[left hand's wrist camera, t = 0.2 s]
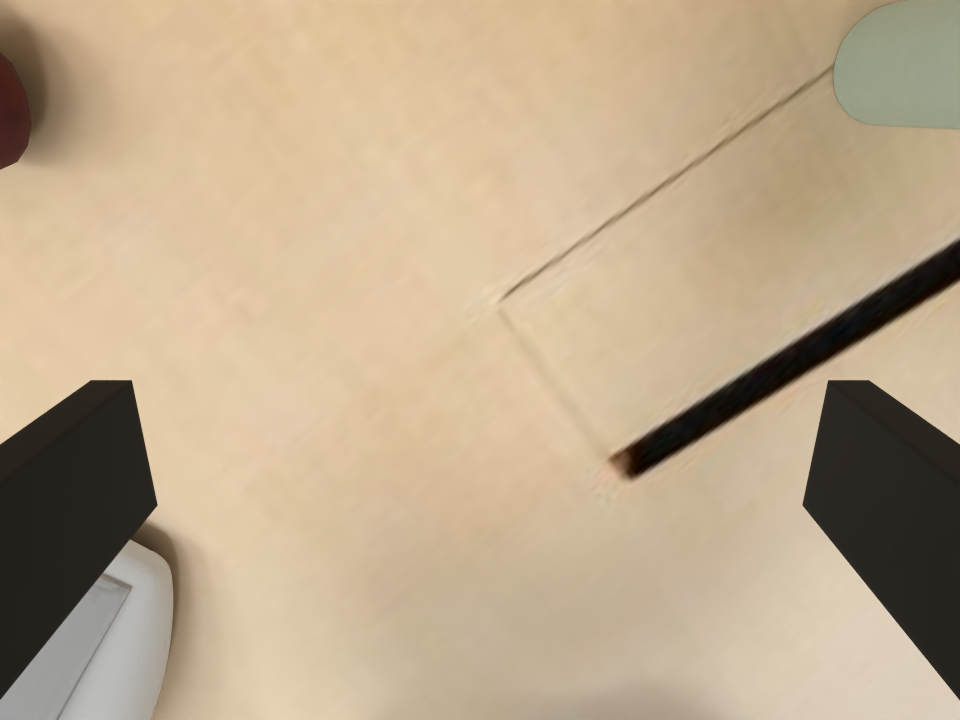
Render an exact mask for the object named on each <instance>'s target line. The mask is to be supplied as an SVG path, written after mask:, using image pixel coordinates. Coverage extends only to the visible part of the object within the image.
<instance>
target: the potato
mask: <svg viewBox="0 0 960 720" xmlns="http://www.w3.org/2000/svg"><path fill="white" fill-rule="evenodd" d="M30 129H31V119H30V113H29V107H28V102H27V96H26V92H25V90H24V88H23V86H22V84H21V82H20V80H19V78H18V76H17V73H16V71H15V69H14V67H13V65H12V63H11V62H10V61H9V60H8V59H7V58H6V57H5V56H3V55H2V54H1V53H0V169H3V168H5V167H7V166H9V165H12V164H14V163H16V162H18V160H19V158H20V157H21V155H22V154H23V152H24V151H25V149H26V148H27V146H28V142H29V135H30Z"/></svg>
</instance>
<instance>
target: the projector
mask: <svg viewBox="0 0 960 720" xmlns="http://www.w3.org/2000/svg"><path fill="white" fill-rule="evenodd" d="M172 621H173V583H172V574H171V570H170V567H169V565H168V564H167V562H166V561H165V560H164V559H163V558H162V557H161V556H160V555H158V554H157V553H155V552H153V551H151V550H149V549H147V548H145V547H143V546H141V545H140V544H138V543H136V542H134V541H132V540H129V541H128V542H127V544H126V545H125V546H124V547H123V549H122V550H121V551H120V552H119V554H118V555H117V556H116V557H115V559H114V560H113V561H112V562H111V564H110V565H109V566H108V567H107V568H106V570H105V571H104V572H103V573H102V575H101V576H100V577H99V578H98V580H97V581H96V582H95V583H94V585H93V586H92V587H91V588H90V590H89V591H88V592H87V593H86V594H85V596H84V597H83V598H82V599H81V601H80V602H79V603H78V604H77V606H76V607H75V608H74V609H73V611H72V612H71V613H70V614H69V616H68V617H67V618H66V619H65V621H64V622H63V623H62V624H61V625H60V627H59V628H58V629H57V630H56V632H55V633H54V634H53V635H52V637H51V638H50V639H49V640H48V642H47V643H46V644H45V645H44V647H43V648H42V649H41V650H40V651H39V653H38V654H37V655H36V656H35V658H34V659H33V660H32V661H31V663H30V664H29V665H28V666H27V668H26V669H25V670H24V671H23V673H22V674H21V675H20V676H19V678H18V679H17V680H16V681H15V682H14V684H13V685H12V686H11V687H10V689H9V690H8V691H7V692H6V694H5V695H4V696H3V697H2V699H1V700H0V720H151V718H152V715H153V712H154V709H155V706H156V703H157V700H158V698H159V694H160V691H161V687H162V683H163V679H164V676H165V671H166V666H167V661H168V656H169V649H170V642H171V632H172Z"/></svg>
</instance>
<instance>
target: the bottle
mask: <svg viewBox="0 0 960 720" xmlns="http://www.w3.org/2000/svg"><path fill="white" fill-rule="evenodd" d="M833 82H834V89H835V93H836V96H837V99H838V101H839V103H840V105H841V106H842V108H843V109H844V110H845V111H846V112H847V113H848V114H849V115H850V116H851V117H853V118H854V119H855V120H857V121H860V122H862V123H865V124H868V125H877V126H897V127H917V128H937V129H957V130H960V0H903V1H899V2H895V3H891V4H887V5H884V6H882V7H879V8H877V9H875V10H874V11H872V12H870V13H869V14H867V15H866V16H865V17H863V18H862V19H861V20H860V21H859V22H858V23H857V24H856V25H855V26H854V27H853V28H852V29H851V30H850V32H849V33H848V34H847V36H846V37H845V39H844V41H843V43H842V44H841V46H840V49H839V51H838V54H837V57H836V60H835V65H834V72H833Z"/></svg>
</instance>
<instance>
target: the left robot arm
mask: <svg viewBox="0 0 960 720" xmlns="http://www.w3.org/2000/svg"><path fill="white" fill-rule="evenodd" d="M156 507H157V500H156V496H155V491H154V486H153V481H152V476H151V471H150V467H149V462H148V457H147V452H146V447H145V442H144V437H143V433H142V428H141V423H140V418H139V413H138V408H137V403H136V399H135V394H134V389H133V384H132V380H91V381H89V382H88V383H87V384H85V385H84V386H82V387H81V388H80V389H78V390H77V391H75V392H74V393H73V394H71V395H70V396H68V397H67V398H65V399H64V400H63V401H61V402H60V403H58V404H57V405H56V406H54V407H53V408H51V409H50V410H48V411H47V412H46V413H44V414H43V415H41V416H40V417H39V418H37V419H36V420H34V421H33V422H31V423H30V424H29V425H27V426H26V427H24V428H23V429H22V430H20V431H19V432H17V433H16V434H14V435H13V436H12V437H10V438H9V439H7V440H6V441H5V442H3V443H2V444H0V700H1V699H2V697H3V696H4V695H5V694H6V692H7V691H8V690H9V689H10V687H11V686H12V685H13V684H14V682H15V681H16V680H17V679H18V678H19V676H20V675H21V674H22V673H23V671H24V670H25V669H26V668H27V666H28V665H29V664H30V663H31V661H32V660H33V659H34V658H35V656H36V655H37V654H38V653H39V651H40V650H41V649H42V648H43V647H44V645H45V644H46V643H47V642H48V640H49V639H50V638H51V637H52V635H53V634H54V633H55V632H56V630H57V629H58V628H59V627H60V625H61V624H62V623H63V622H64V621H65V619H66V618H67V617H68V616H69V614H70V613H71V612H72V611H73V609H74V608H75V607H76V606H77V604H78V603H79V602H80V601H81V599H82V598H83V597H84V596H85V594H86V593H87V592H88V591H89V590H90V588H91V587H92V586H93V585H94V583H95V582H96V581H97V580H98V578H99V577H100V576H101V575H102V573H103V572H104V571H105V570H106V568H107V567H108V566H109V565H110V564H111V562H112V561H113V560H114V559H115V557H116V556H117V555H118V554H119V552H120V551H121V550H122V549H123V547H124V546H125V545H126V544H127V542H128V541H129V540H130V539H131V537H132V536H133V535H134V534H135V533H136V531H137V530H138V529H139V528H140V526H141V525H142V524H143V523H144V521H145V520H146V519H147V518H148V516H149V515H150V514H151V513H152V511H153V510H154V509H155V508H156ZM803 507H804V508H805V509H806V510H807V511H808V513H809V514H810V515H811V516H812V518H813V519H814V520H815V521H816V523H817V524H818V525H819V526H820V528H821V529H822V530H823V531H824V533H825V534H826V535H827V536H828V537H829V539H830V540H831V541H832V542H833V544H834V545H835V546H836V547H837V549H838V550H839V551H840V552H841V554H842V555H843V556H844V557H845V559H846V560H847V561H848V562H849V564H850V565H851V566H852V567H853V568H854V570H855V571H856V572H857V573H858V575H859V576H860V577H861V578H862V580H863V581H864V582H865V583H866V585H867V586H868V587H869V588H870V590H871V591H872V592H873V593H874V594H875V596H876V597H877V598H878V599H879V601H880V602H881V603H882V604H883V606H884V607H885V608H886V609H887V611H888V612H889V613H890V614H891V616H892V617H893V618H894V619H895V621H896V622H897V623H898V624H899V625H900V627H901V628H902V629H903V630H904V632H905V633H906V634H907V635H908V637H909V638H910V639H911V640H912V642H913V643H914V644H915V645H916V647H917V648H918V649H919V650H920V651H921V653H922V654H923V655H924V656H925V658H926V659H927V660H928V661H929V663H930V664H931V665H932V666H933V668H934V669H935V670H936V671H937V673H938V674H939V675H940V676H941V678H942V679H943V680H944V681H945V682H946V684H947V685H948V686H949V687H950V689H951V690H952V691H953V692H954V694H955V695H956V696H957V697H958V699H959V700H960V444H958V443H957V442H955V441H954V440H953V439H951V438H950V437H948V436H947V435H946V434H944V433H943V432H941V431H940V430H938V429H937V428H936V427H934V426H933V425H931V424H930V423H929V422H927V421H926V420H924V419H923V418H921V417H920V416H919V415H917V414H916V413H914V412H913V411H912V410H910V409H909V408H907V407H906V406H904V405H903V404H902V403H900V402H899V401H897V400H896V399H895V398H893V397H892V396H890V395H889V394H887V393H886V392H885V391H883V390H882V389H880V388H879V387H878V386H876V385H875V384H873V383H872V382H871V381H869V380H828V384H827V389H826V394H825V399H824V403H823V408H822V413H821V418H820V423H819V428H818V433H817V437H816V442H815V447H814V452H813V457H812V462H811V467H810V471H809V476H808V481H807V486H806V491H805V496H804V500H803Z"/></svg>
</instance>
